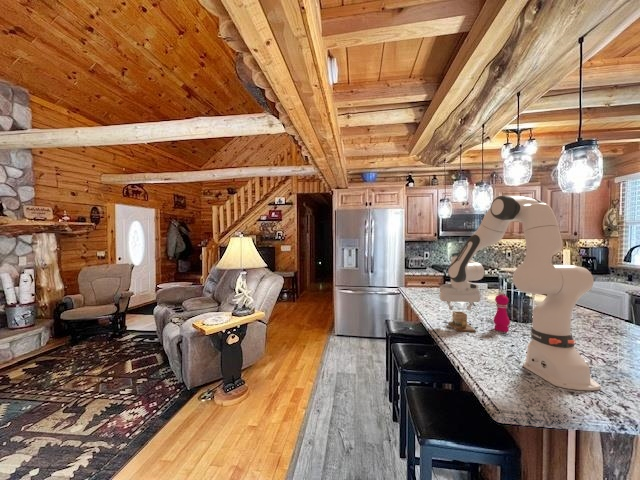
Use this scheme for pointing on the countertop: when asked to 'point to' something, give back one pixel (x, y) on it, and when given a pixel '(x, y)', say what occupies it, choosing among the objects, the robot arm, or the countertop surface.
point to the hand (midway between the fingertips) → (459, 309)
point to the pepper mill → (501, 313)
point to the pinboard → (462, 327)
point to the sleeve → (459, 317)
